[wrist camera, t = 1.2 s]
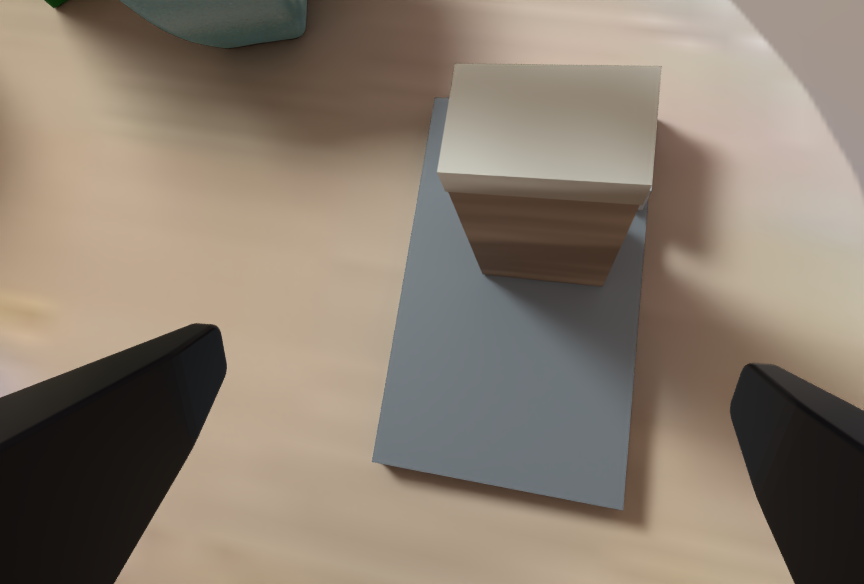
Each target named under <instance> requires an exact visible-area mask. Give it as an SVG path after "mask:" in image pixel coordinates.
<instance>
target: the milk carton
mask: <svg viewBox="0 0 864 584" xmlns="http://www.w3.org/2000/svg"><path fill="white" fill-rule="evenodd" d="M45 1H46V2H47V3H48V4H49V5H51V6H52V7H53V8H56V7H57V6H59V5H61V4H62V3H64V2H66V1H67V0H45Z"/></svg>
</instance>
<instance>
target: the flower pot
mask: <svg viewBox="0 0 864 584" xmlns="http://www.w3.org/2000/svg"><path fill="white" fill-rule="evenodd" d="M120 1H121V2H122V3H124V4H125V5H126V6H128V7H129V8H130V9H132V10H133V11H134V12H136V13H137V14H139V15H140V16H141V17H143V18H144V19H146V20H147V21H149V22H150V23H152V24H153V25H155V26H157V27H159V28H160V29H162V30H164V31H166V32H168V33H170V34H172V35H175V36H177V37H180V38H182V39H185V40H188V41H191V42H194V43H199V44H203V45H208V46H214V47H220V48H234V47H240V46H246V45H251V44H257V43H264V42H271V41H278V40H285V39H292V38H297V37H300V36H302V35H303V34H304V32H305V29H306V15H307V0H120Z"/></svg>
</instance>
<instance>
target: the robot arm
mask: <svg viewBox="0 0 864 584" xmlns="http://www.w3.org/2000/svg"><path fill="white" fill-rule="evenodd" d="M226 369H227V364H226V358H225V352H224V347H223V341H222V336H221V332H220V329H219V328H218V327H217V326H216V325H213V324H200V323H195V324H191V325H188V326H186V327H183V328H180V329H178V330H175V331H173V332H170V333H167V334H165V335H162V336H160V337H157V338H154V339H152V340H149V341H147V342H144V343H141V344H139V345H136V346H134V347H131V348H128V349H126V350H123V351H121V352H118V353H115V354H113V355H110V356H108V357H105V358H102V359H100V360H97V361H95V362H92V363H89V364H87V365H84V366H82V367H79V368H76V369H74V370H71V371H69V372H66V373H63V374H61V375H58V376H56V377H53V378H50V379H48V380H45V381H43V382H40V383H37V384H35V385H32V386H30V387H27V388H24V389H22V390H19V391H17V392H14V393H11V394H9V395H6V396H4V397H1V398H0V584H114V582H115V581H116V579H117V577H118V576H119V574H120V572H121V570H122V569H123V567H124V565H125V564H126V562H127V560H128V559H129V557H130V555H131V553H132V552H133V550H134V548H135V547H136V545H137V543H138V541H139V540H140V538H141V536H142V535H143V533H144V531H145V529H146V528H147V526H148V524H149V523H150V521H151V519H152V518H153V516H154V514H155V512H156V511H157V509H158V507H159V506H160V504H161V502H162V500H163V499H164V497H165V495H166V494H167V492H168V490H169V488H170V487H171V485H172V483H173V482H174V480H175V478H176V477H177V475H178V473H179V471H180V470H181V468H182V466H183V465H184V463H185V461H186V459H187V458H188V456H189V454H190V452H191V450H192V449H193V447H194V445H195V443H196V440H197V438H198V436H199V434H200V432H201V430H202V427H203V425H204V423H205V421H206V418H207V416H208V414H209V412H210V409H211V407H212V405H213V403H214V400H215V398H216V396H217V394H218V391H219V389H220V387H221V385H222V382H223V380H224V378H225V375H226ZM730 414H731V419H732V422H733V426H734V429H735V432H736V435H737V438H738V441H739V444H740V448H741V451H742V454H743V457H744V460H745V463H746V467H747V470H748V473H749V476H750V479H751V482H752V485H753V488H754V491H755V494H756V497H757V500H758V502H759V504H760V507H761V509H762V511H763V514H764V516H765V518H766V521H767V523H768V525H769V527H770V529H771V532H772V534H773V536H774V538H775V541H776V543H777V545H778V547H779V550H780V552H781V554H782V556H783V558H784V561H785V563H786V565H787V567H788V570H789V572H790V574H791V576H792V579H793V581H794V583H795V584H864V411H863V410H861V409H859V408H857V407H855V406H853V405H852V404H850V403H848V402H846V401H844V400H842V399H840V398H838V397H836V396H834V395H832V394H830V393H828V392H826V391H824V390H823V389H821V388H819V387H817V386H815V385H813V384H811V383H809V382H807V381H805V380H803V379H801V378H799V377H797V376H795V375H794V374H792V373H790V372H788V371H786V370H784V369H782V368H780V367H778V366H776V365H772V364H759V363H749V364H747V365H746V366H745V367H744V368H743V370H742V372H741V374H740V377H739V380H738V383H737V386H736V389H735V392H734V395H733V398H732V401H731V406H730Z"/></svg>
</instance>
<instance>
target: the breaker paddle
mask: <svg viewBox="0 0 864 584" xmlns="http://www.w3.org/2000/svg"><path fill="white" fill-rule="evenodd" d="M661 67H662V66H619V65H538V64H456V63H455V67H454V73H453V79H452V85H451V91H450V97H449V103H448V109H447V115H446V121H445V127H444V133H443V139H442V145H441V151H440V157H439V163H438V169H437V174H438V176H439V178H440V181H441V183H442V185H443V188H444V190H445V192H448V193H449V195H450V198H451V200H452V202H453V205H454V207H455V210H456V212H457V214H458V217H459V219H460V222H461V224H462V226H463V229H464V231H465V234H466V236H467V238H468V241H469V243H470V246H471V248H472V250H473V253H474V255H475V258H476V260H477V262H478V265H479V267H480V270H481V272H482V274H484V275H494V276H504V277H513V278H523V279H533V280H542V281H552V282H562V283H572V284H581V285H591V286H601V287H603V285H604V283H605V281H606V278H607V276H608V274H609V272H610V270H611V267H612V265H613V263H614V261H615V259H616V256H617V254H618V252H619V250H620V248H621V245H622V243H623V241H624V239H625V237H626V234H627V232H628V230H629V228H630V226H631V223H632V221H633V219H634V217H635V215H636V212H637V210H638V208H639V206H640V205H643V203H644V201H645V199H646V197H647V195H648V193H649V191H650V188H651V186H652V179H653V167H654V154H655V142H656V129H657V117H658V104H659V92H660V79H661Z"/></svg>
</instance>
